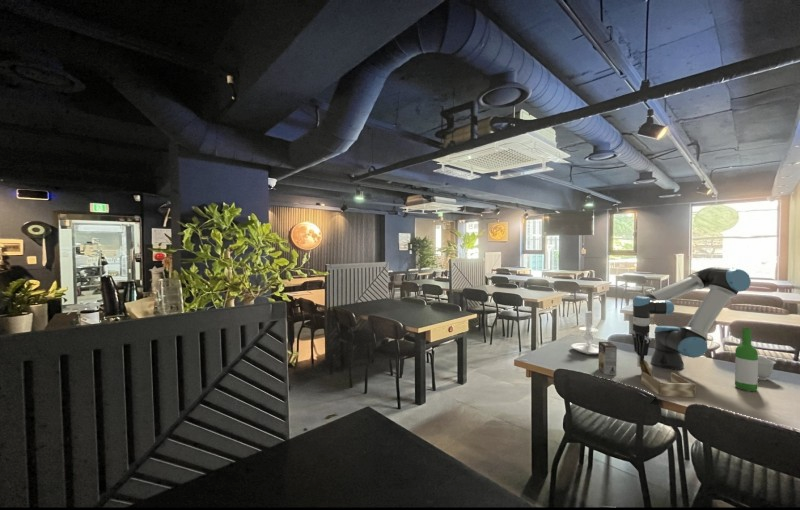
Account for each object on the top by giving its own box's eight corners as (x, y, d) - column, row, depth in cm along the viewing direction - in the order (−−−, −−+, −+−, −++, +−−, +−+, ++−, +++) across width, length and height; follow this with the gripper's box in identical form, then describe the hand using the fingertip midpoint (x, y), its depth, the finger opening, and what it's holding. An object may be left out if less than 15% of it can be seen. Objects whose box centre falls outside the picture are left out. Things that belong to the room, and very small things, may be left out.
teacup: (775, 376, 176) (775, 358, 175) (775, 384, 166) (776, 365, 166) (743, 370, 185) (743, 352, 185) (741, 377, 175) (741, 359, 175)
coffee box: (597, 368, 191) (598, 341, 191) (610, 369, 190) (610, 341, 190) (604, 374, 182) (604, 346, 182) (617, 375, 181) (617, 346, 181)
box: (673, 384, 169) (673, 372, 169) (695, 397, 155) (695, 384, 154) (641, 383, 170) (641, 372, 170) (660, 396, 156) (660, 383, 156)
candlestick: (569, 356, 213) (568, 313, 212) (572, 345, 234) (572, 306, 233) (606, 361, 202) (606, 316, 201) (606, 350, 222) (607, 309, 222)
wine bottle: (756, 393, 157) (757, 331, 156) (733, 387, 163) (734, 328, 162) (758, 389, 162) (759, 328, 161) (736, 383, 168) (737, 325, 167)
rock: (636, 367, 186) (629, 369, 180) (648, 357, 182) (641, 359, 176) (654, 384, 179) (647, 386, 173) (667, 374, 175) (660, 376, 169)
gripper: (627, 321, 189) (626, 361, 190) (641, 327, 176) (640, 370, 177) (641, 321, 188) (640, 362, 189) (656, 327, 175) (655, 371, 176)
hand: (640, 366), depth 183 cm, fingers closed
